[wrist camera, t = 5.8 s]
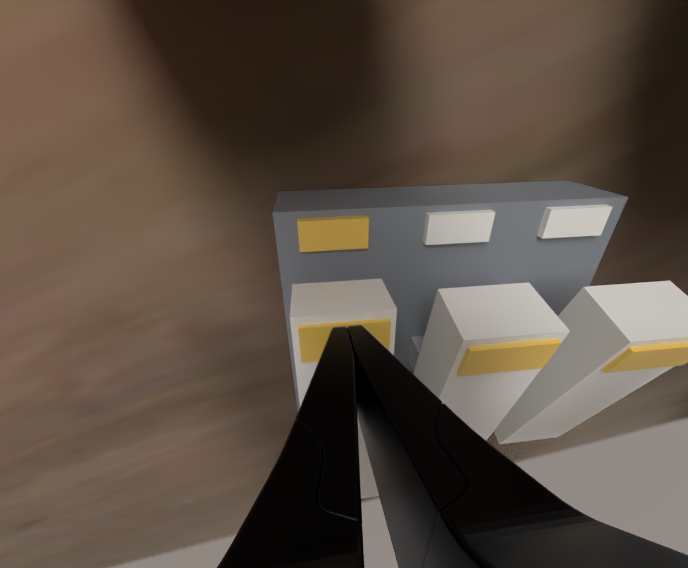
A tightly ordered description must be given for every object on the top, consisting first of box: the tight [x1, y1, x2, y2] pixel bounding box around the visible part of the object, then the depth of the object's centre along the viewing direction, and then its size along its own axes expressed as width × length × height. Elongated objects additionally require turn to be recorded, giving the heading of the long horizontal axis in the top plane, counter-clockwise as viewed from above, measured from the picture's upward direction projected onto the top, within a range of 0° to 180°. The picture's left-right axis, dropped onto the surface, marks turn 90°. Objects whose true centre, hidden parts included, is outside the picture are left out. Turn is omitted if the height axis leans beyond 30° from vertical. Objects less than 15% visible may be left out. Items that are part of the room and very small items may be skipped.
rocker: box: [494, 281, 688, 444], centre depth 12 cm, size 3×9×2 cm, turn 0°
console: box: [272, 180, 628, 411], centre depth 15 cm, size 13×13×4 cm
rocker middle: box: [413, 282, 570, 441], centre depth 12 cm, size 3×9×2 cm, turn 0°
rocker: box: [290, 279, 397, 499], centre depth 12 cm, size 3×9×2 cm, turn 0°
